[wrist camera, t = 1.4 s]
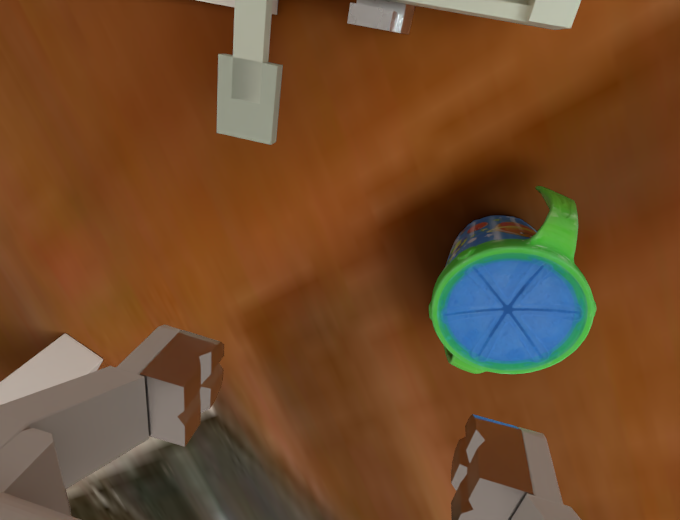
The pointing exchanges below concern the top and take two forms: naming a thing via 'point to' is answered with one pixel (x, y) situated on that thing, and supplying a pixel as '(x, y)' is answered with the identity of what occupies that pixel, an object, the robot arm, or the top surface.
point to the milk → (50, 369)
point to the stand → (382, 15)
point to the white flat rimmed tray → (230, 1)
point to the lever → (265, 78)
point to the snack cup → (513, 293)
